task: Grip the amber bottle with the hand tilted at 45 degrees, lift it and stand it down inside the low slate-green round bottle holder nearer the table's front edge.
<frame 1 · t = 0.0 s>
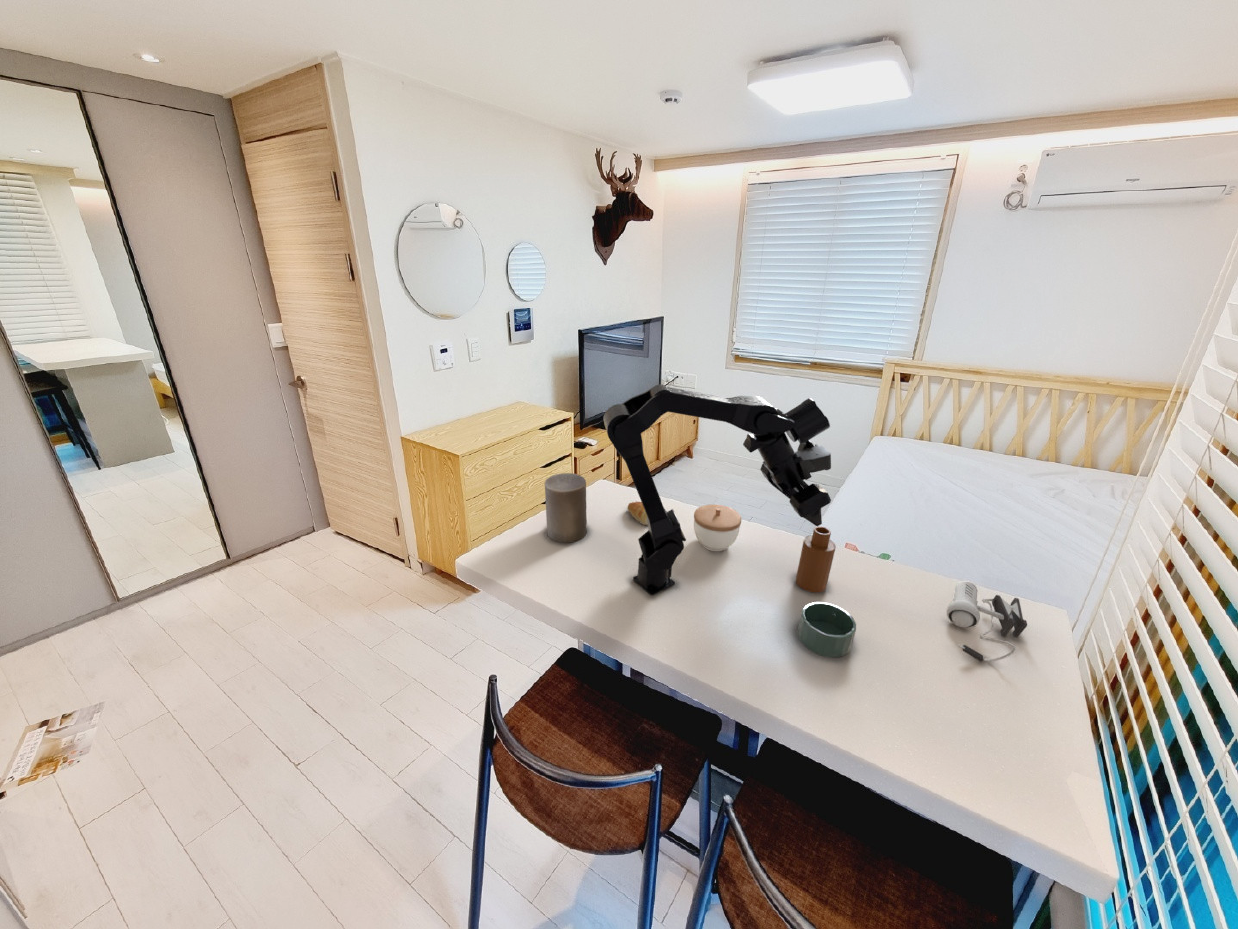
hand: (808, 513, 102), 15 cm above the table, tool tilted 35°, fingers open, 9 cm apart
pastry: (644, 518, 129), on the table
pillar candle: (566, 533, 122), on the table
trinket box: (714, 544, 118), on the table
clip-on lamp: (979, 635, 93), on the table
holder: (823, 638, 91), on the table
bottle: (810, 583, 105), on the table
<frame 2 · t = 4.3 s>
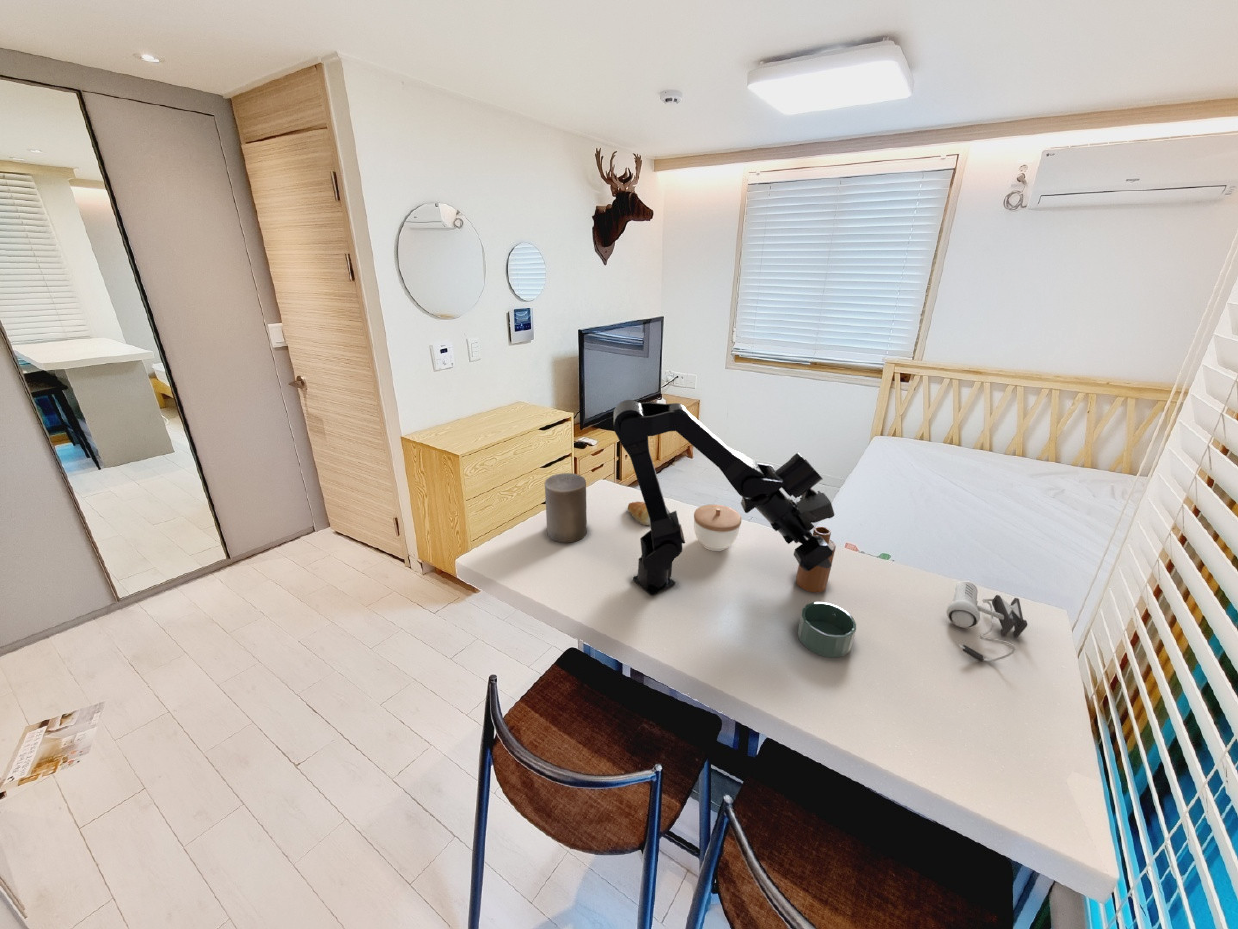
hand: (823, 557, 102), 7 cm above the table, tool tilted 45°, fingers closed on bottle, 6 cm apart
bottle: (810, 583, 105), on the table, touching gripper
everything else where it was.
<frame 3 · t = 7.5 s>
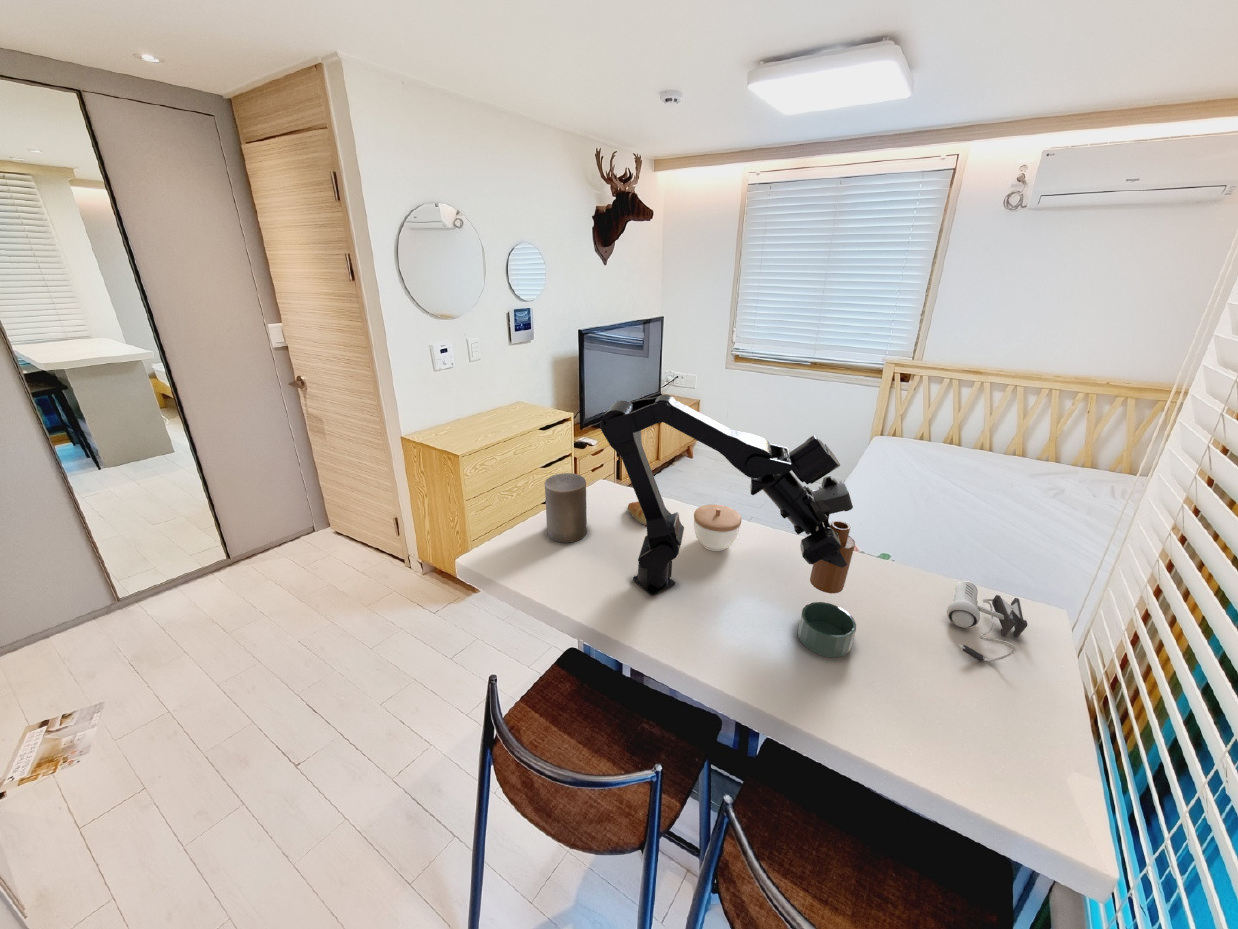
hand: (841, 556, 93), 12 cm above the table, tool tilted 45°, fingers closed on bottle, 6 cm apart
bottle: (826, 583, 96), point 6 cm above the table, touching gripper
everything else where it was.
when the fingers open (7 cm above the table, at t = 11.0 s): bottle stays where it is, resting on holder.
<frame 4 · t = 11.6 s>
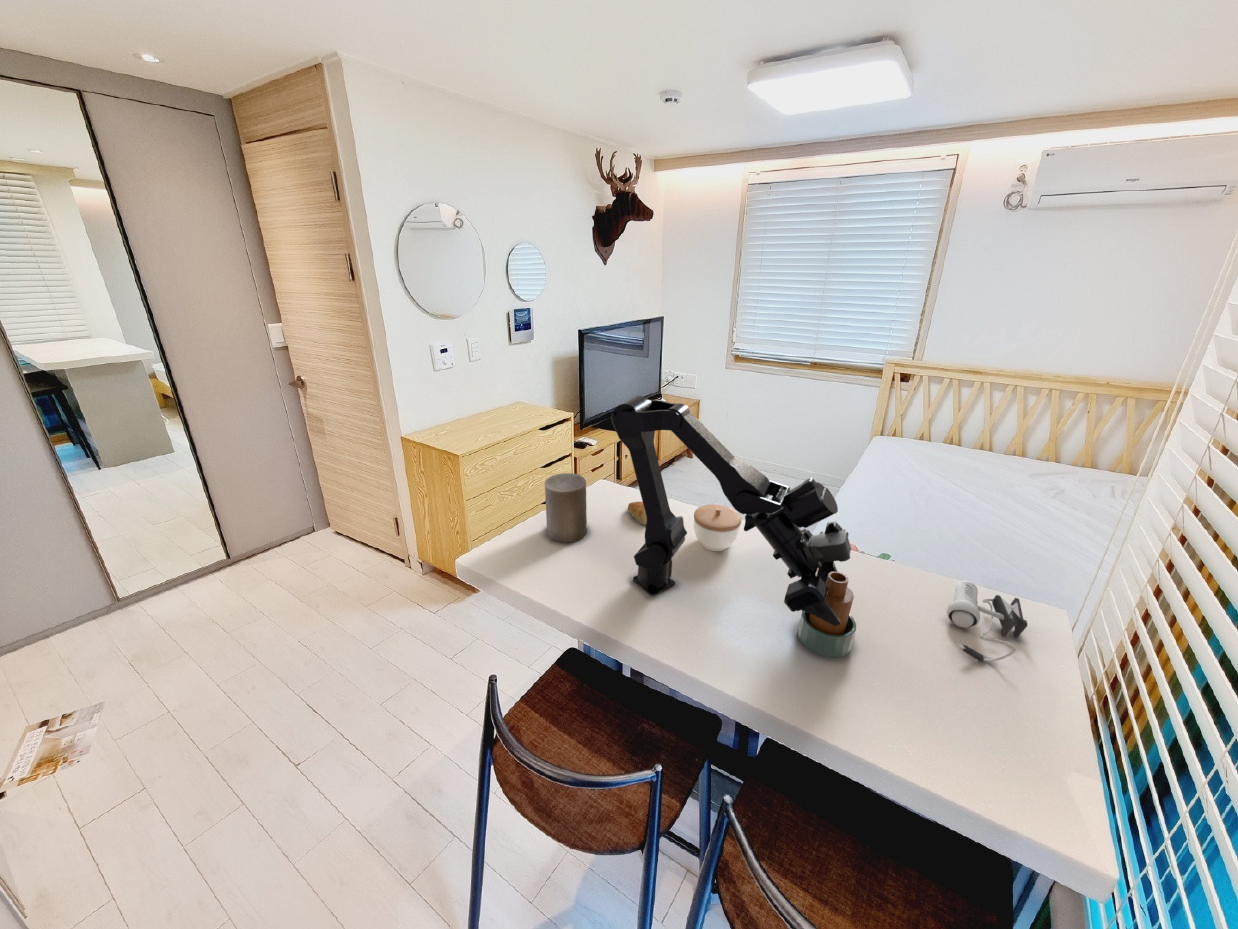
hand: (840, 608, 87), 8 cm above the table, tool tilted 45°, fingers open, 9 cm apart
bottle: (823, 636, 90), point 1 cm above the table, touching holder
everything else where it was.
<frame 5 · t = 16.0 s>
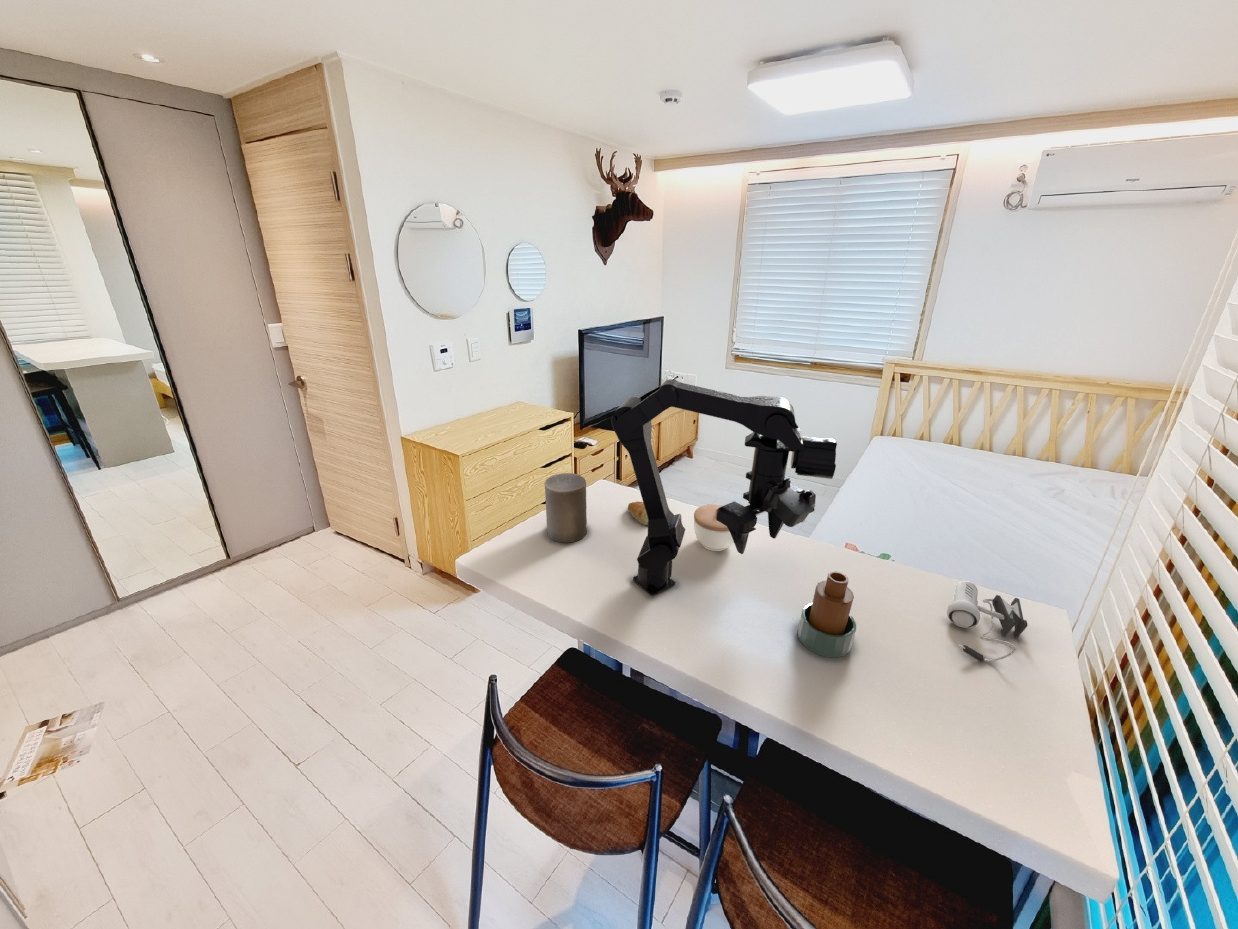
hand: (756, 545, 95), 13 cm above the table, tool pointing down, fingers open, 9 cm apart
nothing on the table moved.
at the end: bottle 0.1 cm off-centre in the holder, point 0.6 cm above the holder's base; bottle tilted 0°; the gripper is holding nothing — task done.
